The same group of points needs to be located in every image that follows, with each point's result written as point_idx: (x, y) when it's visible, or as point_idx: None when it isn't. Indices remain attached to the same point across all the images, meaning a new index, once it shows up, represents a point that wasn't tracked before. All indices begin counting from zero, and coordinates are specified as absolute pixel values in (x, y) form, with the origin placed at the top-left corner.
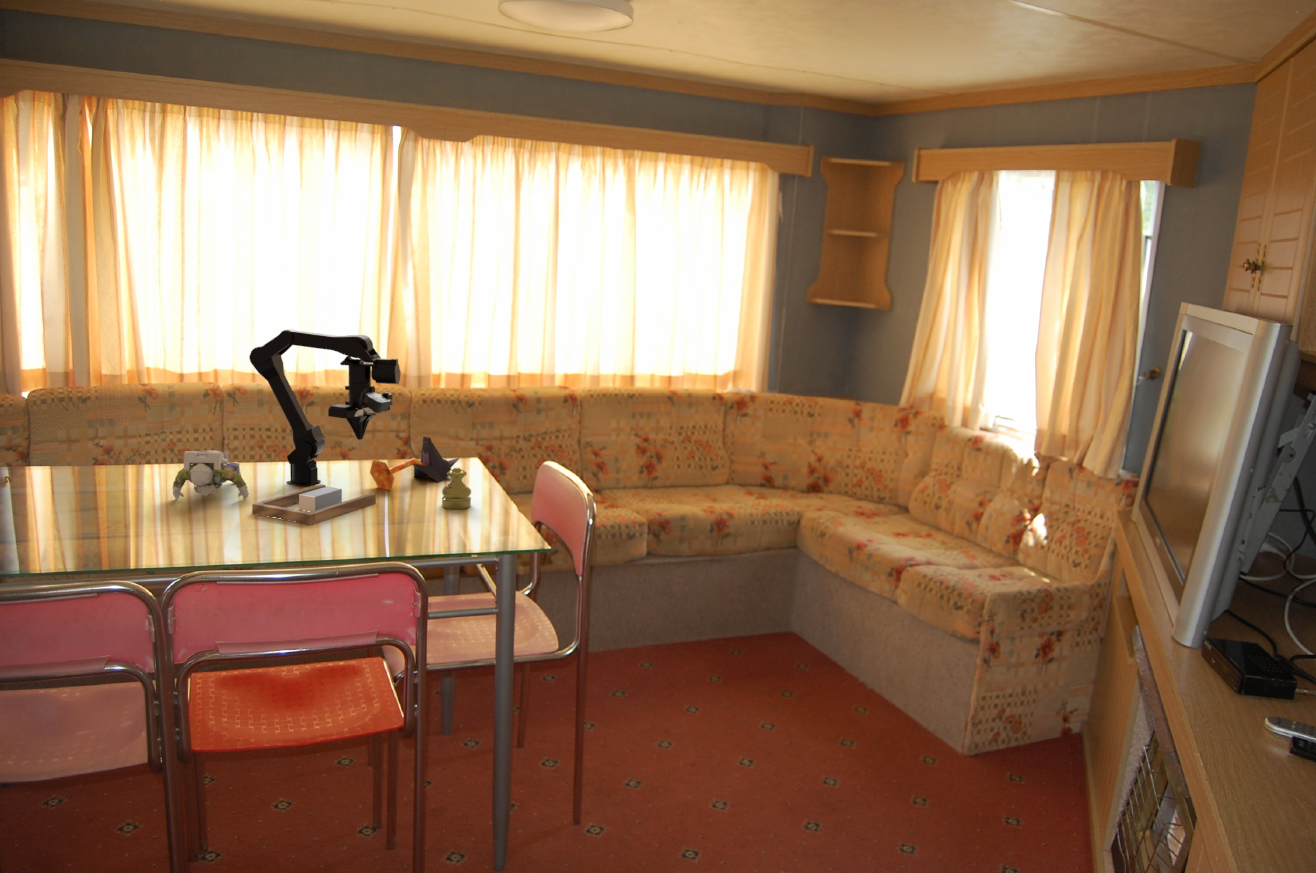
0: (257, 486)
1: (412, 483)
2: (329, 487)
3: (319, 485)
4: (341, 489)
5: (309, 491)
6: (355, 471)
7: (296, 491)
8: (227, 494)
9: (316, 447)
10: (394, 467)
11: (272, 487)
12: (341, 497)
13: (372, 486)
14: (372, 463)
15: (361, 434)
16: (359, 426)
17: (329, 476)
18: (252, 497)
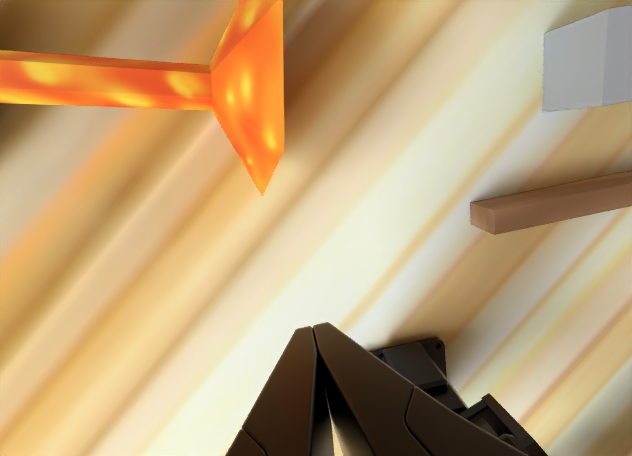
0: None
1: None
2: (613, 81)
3: (512, 223)
4: (607, 9)
5: (580, 190)
6: (140, 420)
7: (629, 204)
8: (623, 395)
9: (521, 448)
10: (153, 68)
11: (498, 391)
12: (570, 24)
13: None
14: (275, 163)
15: (337, 345)
16: (453, 416)
17: None
18: (618, 327)
